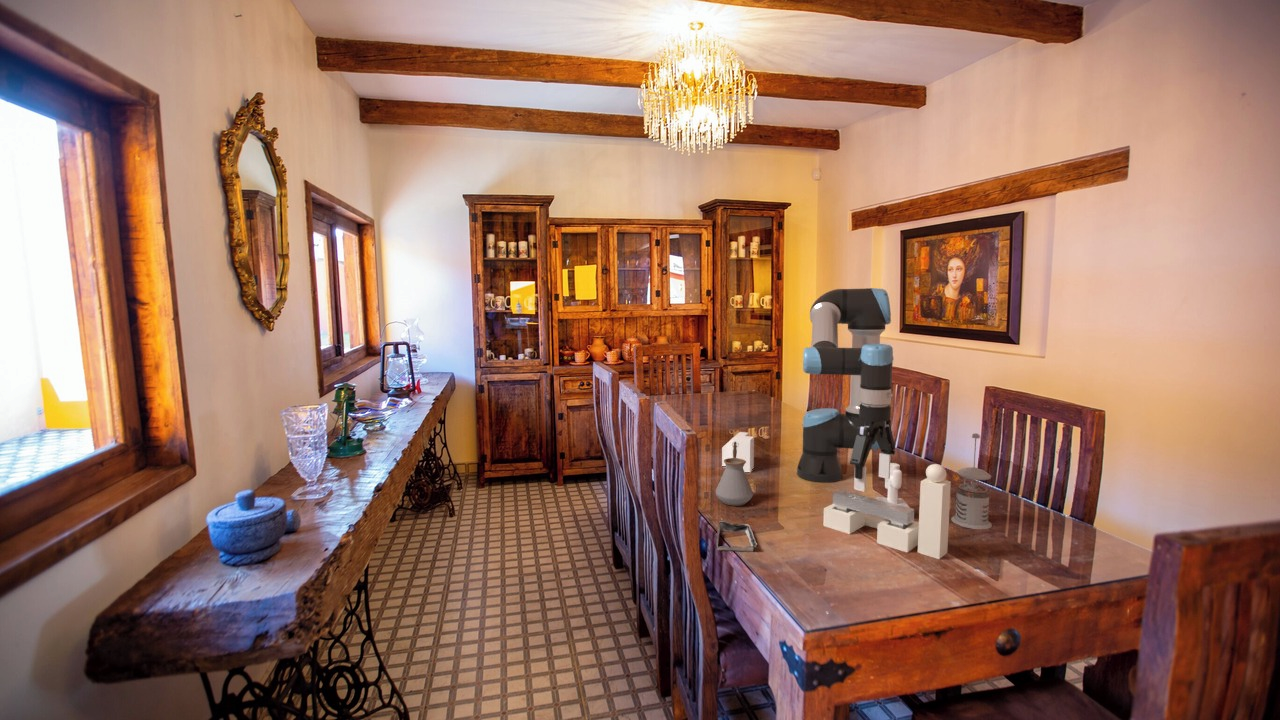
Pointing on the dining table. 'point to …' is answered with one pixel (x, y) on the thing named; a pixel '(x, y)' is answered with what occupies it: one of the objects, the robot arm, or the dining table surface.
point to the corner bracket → (740, 450)
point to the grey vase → (734, 482)
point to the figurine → (894, 486)
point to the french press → (972, 499)
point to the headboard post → (923, 533)
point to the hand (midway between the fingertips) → (872, 483)
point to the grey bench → (874, 508)
